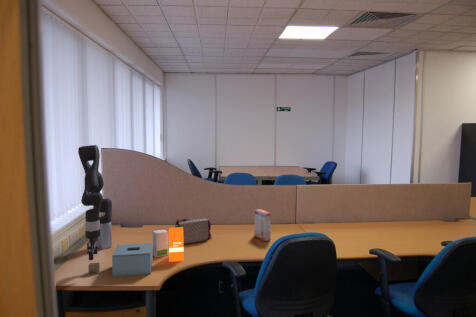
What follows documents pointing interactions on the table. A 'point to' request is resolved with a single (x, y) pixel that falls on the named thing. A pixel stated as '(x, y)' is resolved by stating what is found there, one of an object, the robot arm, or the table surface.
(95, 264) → the brown rectangular block
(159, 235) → the skincare box
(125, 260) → the box
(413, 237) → the table surface
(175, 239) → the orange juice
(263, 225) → the cracker box
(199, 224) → the handbag
